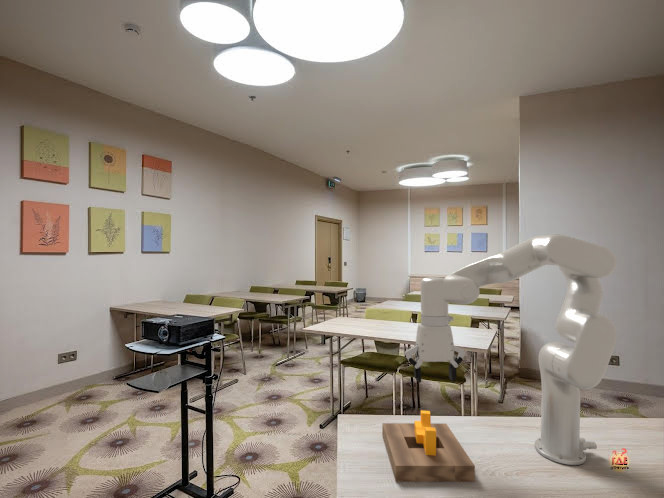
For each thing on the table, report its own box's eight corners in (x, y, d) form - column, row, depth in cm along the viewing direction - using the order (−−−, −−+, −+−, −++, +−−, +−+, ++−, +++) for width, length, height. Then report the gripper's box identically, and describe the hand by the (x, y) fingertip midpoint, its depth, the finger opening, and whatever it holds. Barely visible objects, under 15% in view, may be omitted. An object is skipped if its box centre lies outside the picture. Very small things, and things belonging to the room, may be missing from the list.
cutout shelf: (446, 436, 114) (446, 423, 114) (474, 481, 92) (474, 465, 92) (382, 436, 114) (382, 423, 114) (395, 481, 92) (395, 465, 92)
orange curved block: (414, 431, 109) (414, 410, 109) (429, 432, 108) (429, 410, 108) (419, 454, 97) (419, 430, 97) (435, 455, 96) (436, 431, 96)
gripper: (459, 317, 108) (460, 375, 108) (401, 318, 108) (402, 376, 108) (469, 323, 101) (470, 384, 101) (407, 324, 100) (408, 386, 100)
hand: (435, 380), depth 104 cm, fingers open, 9 cm apart
